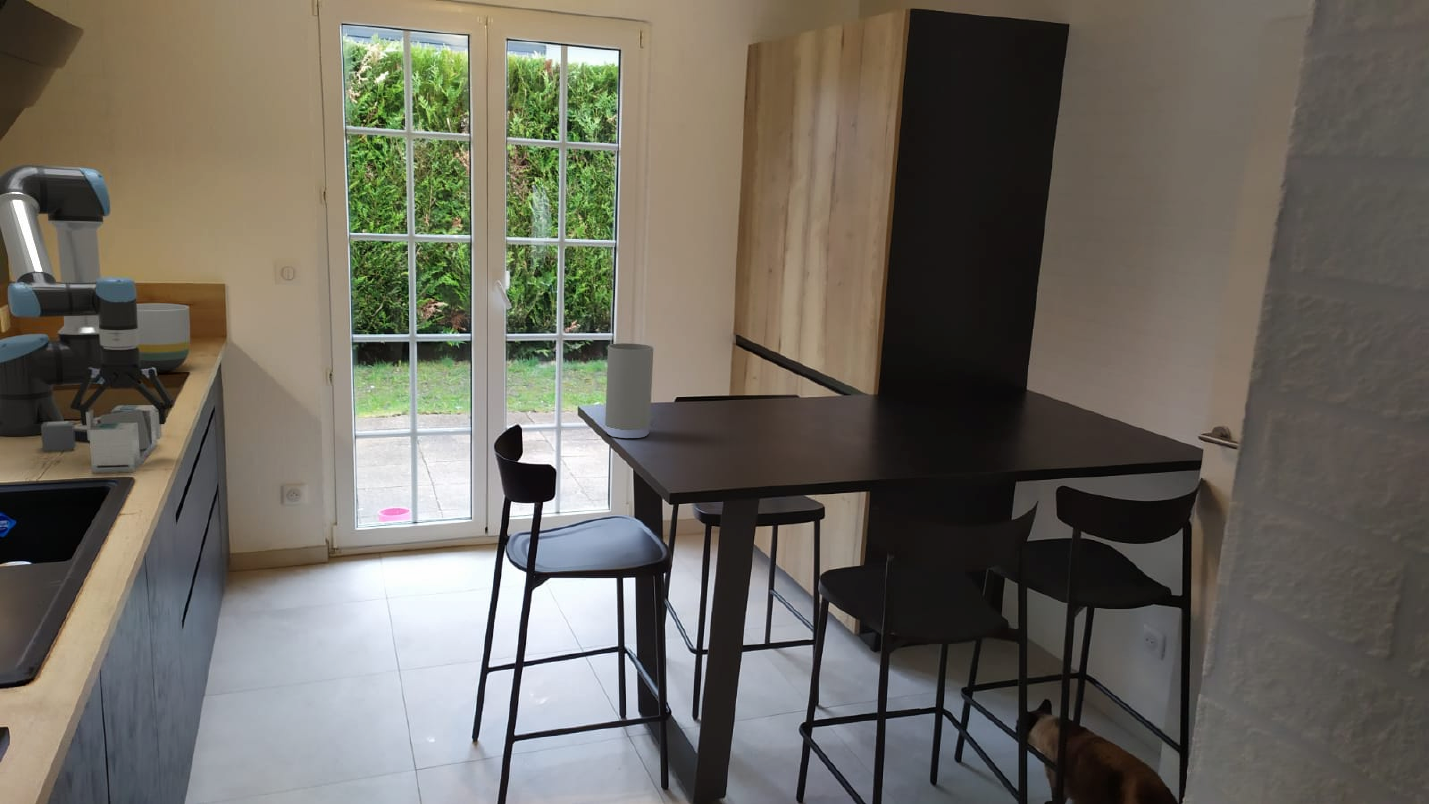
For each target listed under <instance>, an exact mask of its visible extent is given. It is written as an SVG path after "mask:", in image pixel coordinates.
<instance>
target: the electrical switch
mask: <svg viewBox="0 0 1429 804" xmlns="http://www.w3.org/2000/svg"><path fill="white" fill-rule="evenodd" d="M99 417H100V419H99V420H97V423H138V435H139V450H142V449H147V448H149V447H150V442H149V437H148V433H147V429H146V425H145V421H144V416H143V412H142V410H140V409H137V410H130V411H124V412H117V413H106V414H101V415H100V416H99Z"/></svg>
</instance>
